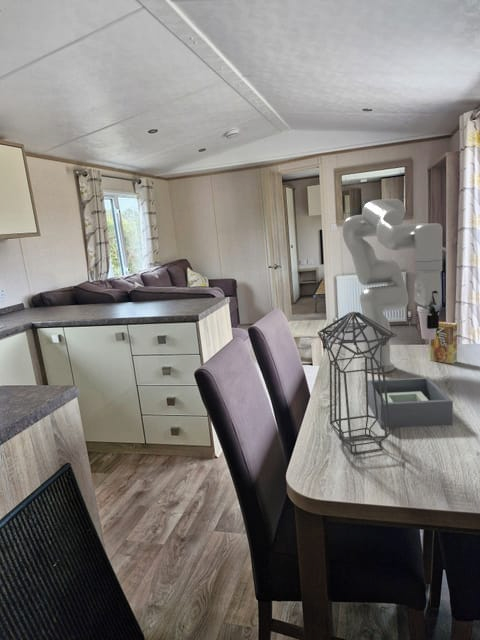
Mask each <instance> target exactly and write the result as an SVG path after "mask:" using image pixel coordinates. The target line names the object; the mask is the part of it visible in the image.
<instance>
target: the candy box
mask: <svg viewBox="0 0 480 640" xmlns="http://www.w3.org/2000/svg"><path fill="white" fill-rule="evenodd" d="M429 346H430V349H429V355H430V356H429V361H432V362H437V361H438V363H445V364H450V363H451V364H450V365H454V364H455V363H456V362H457V361H458V323H457V322H447V321H439V328H437V329H436V336H435V339H429Z"/></svg>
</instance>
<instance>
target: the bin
mask: <svg viewBox="0 0 480 640" xmlns="http://www.w3.org/2000/svg"><path fill="white" fill-rule="evenodd" d="M374 380H375V390H376V400H377V410H378V418H379V419H380V420H381V421H382V422H383V414H382V405H381V397H380V389H379V381H378V379H374ZM385 381H386V390H387V399H388V408H389V417H390V425H391V429H396V428H418V427H421V428H422V427H423V428H424V427H439V426H441V427H442V426H453V412H454V411H453V410H454V407H453V406H454V405H453V403H454V401H453V400H452V398H450V397H449V395H447V394H446V393H445V392H444V391H443V390H442V389H441V388H440V387H439V386H438V385H437V384H436V383H435V381H433V380H432V379H431V378H430V377H429V376H428V377H426V376H425V377H411V378H409V377H408V378H396V379H395V378H393V379H392V378H390V379H385ZM381 387H382V395H383V403H384V411H385V420H386V426H387V427H388V419H387V410H386V401H385V392H384V383H383V379H381ZM368 408H369V409H370V410H371V413H372V414H373V416H375V417H376V410H375V400H374V391H373V381H372V379H371V380H369V379H368ZM376 422H377V424H378V425H379V427H380V429H384V426H383V425H382V424H381V423H380V422H379V421H378V420H377V421H376ZM383 423H384V422H383ZM388 428H389V427H388Z"/></svg>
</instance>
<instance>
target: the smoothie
mask: <svg viewBox="0 0 480 640" xmlns="http://www.w3.org/2000/svg"><path fill="white" fill-rule="evenodd" d="M430 305H433V303H430ZM432 308H433V307H431V310H432ZM416 310H417V312H419V315H418V320H419V319H420V326H419V327H420V332H421V333H420V334H421V339H423V340H430V339H435V336H436V329H437V328H435V329H428V328H427V315H428V309H427V306H422V305H421V306H419V305H418V306H417V309H416ZM440 311H441V309H440V310H439V312H440Z"/></svg>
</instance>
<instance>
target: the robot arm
mask: <svg viewBox="0 0 480 640" xmlns="http://www.w3.org/2000/svg"><path fill="white" fill-rule="evenodd" d="M405 213H406V208H405V205H404V202H403V201H401V200H400V199H398V198H384V199H373V200H370V201H368V202H367V203H365V204H364V206H363V207H362V211H361V214H356V215H352V216H349V217H347V218H346V219H345V220H344V221H343V223H342V238H343V240H344V243H345V246H346V247H347V249H348V251H349V252H350V255H351V257H352V261H353V266H354V268H355V269H354V270H355V272H356V275H357V279H358V282H359V283H360V284H361V285H362V286H366V287H367V288H365V289H363V290H362V291H361V293H360V296H359V302H360V307H361V314H362V315H364V316H366V317H367V318H369V319H371V320H372V321H374V322H376V323H377V324H379V325H381V326H382V327H384V328H386V329H387V330H389V331H391V328H390V327H391V325H390V321H389V319H388V318H387V316H386V315H385V313H386V312H390V311H399V310H403V309H405V308H406V307H407V306H408V304H409V293H408V290H407V286H406V283H405V279H404V276H403V273H402V270H401V266H400V265H399V264H398V262H397V261H396V260H394V259H392V258H391V259H390V258H384V259H383V258H382V259H378V258H377V255H376V253H375V252H376V251H375V249H374V247H373V246H372V245H371V244H370V243H369V242H368V241H367V240H365V239H364V238H366V237H367V238H368V237H377V240H378V242H379V243H380V244H381V245H382V246H384V247H385V248H386V249H388V250H392V251H402V250H403V251H404V250H413V251H414V252H413V253H414V273H415V274H414V286H413V301H414V302H415V303H416V304H417V305H418V306H421V305H422V306H427V309H428V315H427V328H428V329H435V328H439V322H440V321H439V320H440V319H439V316H440V311H441V306H442V300H443V299H442V295H443V294H442V293H443V292H442V276H441V272H442V271H443V225H442V224H441V223H437V222H436V223H434V222H433V223H423V222H422V223H410V224H403V219H404V217H405ZM369 286H371V287H369ZM372 286H373V287H372ZM430 303H432V305H430ZM431 307H433V308H432V310H431ZM439 310H440V311H439ZM384 312H385V313H384ZM417 312H418V311H417ZM417 315H418V316H419V312H418V314H417ZM364 318H365V317H364ZM367 318H366V319H367ZM367 320H368V319H367ZM369 321H370V320H369ZM372 321H371V322H372ZM362 322H363V321H362ZM365 323H366V322H365ZM365 323H364V322H363V325H366V324H367V323H366V324H365ZM372 323H373V322H372ZM374 324H375V323H374ZM377 324H375V325H377ZM418 324H420V319H419V318H418ZM363 325H362V326H363ZM377 326H378V325H377ZM378 327H380V326H378ZM382 327H380V328H381V329H383V328H382ZM383 330H384V331H386V330H385V329H383ZM363 332H364V333H365V335H366V337H367V339H368V341H370V340H374V339H377V338H376V336H375V333H374V330H373V328H372V327H371V326H367V327H366V328H365V329H364V330H363ZM376 332H377V331H376ZM386 332H387V333H390V332H388V331H386ZM377 335H378V338H381V336H382V335H380V334H379V332H377ZM383 337H385V336H383ZM363 340H365V339H364V338H363ZM380 341H381V340H380ZM382 341H383V340H382ZM377 344H378V341H375V342H371V343H369V345H370V349H371V348H372V347H374V346H375V345H377ZM380 346H381V345H379V347H378V349H377V351H376V353H375V355H374V357H375V359H376V360H378V361H379V362H380ZM363 348H364V350H363V351H368V350H369V349H368V344H367V343H366V342H363ZM375 349H376V348H375ZM375 349H373V350H372V351H371V352H372V354H373V353H374V351H375ZM364 355H365V356H368V357H372V356H371V354H370V353H365V354H364ZM363 359H364V362H362V363H361V364H360V370H363V369H365V357H364V358H363ZM372 361H373V368H378V366H377V365H376V363H375V361H374V359H372ZM381 363H382V364H384V365H385V367H384V372H385V374H387V373H390V372H393V371H394V370H395V369H396V367H395V366H396V365H395V364H394V363H393V362H391V338H390V339H389V340H388V341H387V342H386V346H385V344H384V346H382V356H381ZM378 364H379V366H380V363H378ZM381 366H383V365H381ZM367 369H371V361H370V359H368V358H367ZM373 371H374V374H375V373H376V374H378V373H377V370H373ZM379 371H380V374H382V368H381V369H379ZM367 373H371V374H372V372H371V370H368V371H367Z"/></svg>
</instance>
